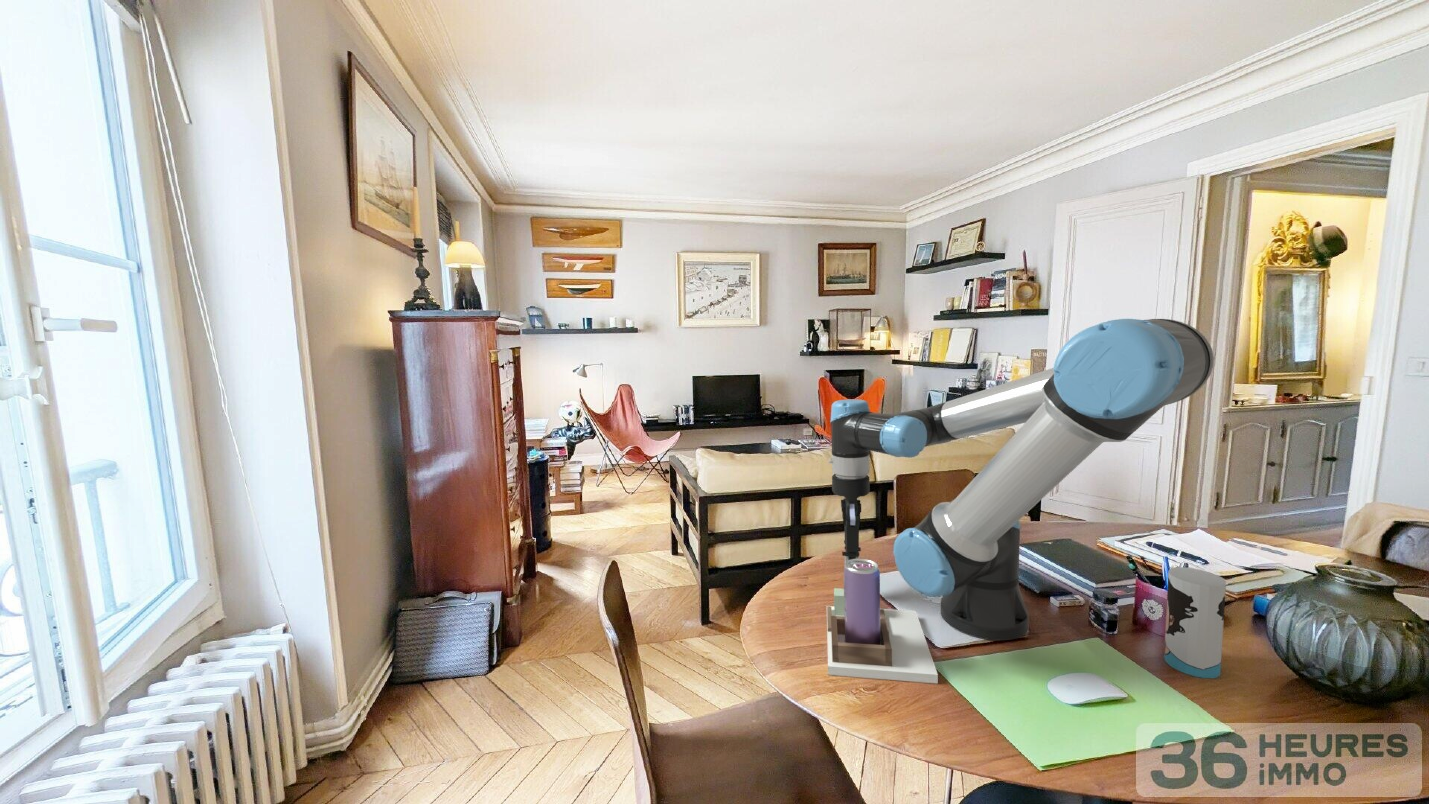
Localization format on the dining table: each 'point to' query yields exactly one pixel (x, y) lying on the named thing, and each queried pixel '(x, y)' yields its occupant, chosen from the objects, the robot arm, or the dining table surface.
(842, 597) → the block
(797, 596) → the dining table surface
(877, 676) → the board
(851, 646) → the socket
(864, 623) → the beverage can
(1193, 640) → the cup
